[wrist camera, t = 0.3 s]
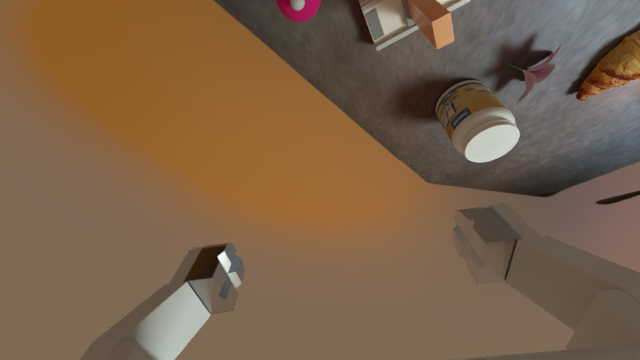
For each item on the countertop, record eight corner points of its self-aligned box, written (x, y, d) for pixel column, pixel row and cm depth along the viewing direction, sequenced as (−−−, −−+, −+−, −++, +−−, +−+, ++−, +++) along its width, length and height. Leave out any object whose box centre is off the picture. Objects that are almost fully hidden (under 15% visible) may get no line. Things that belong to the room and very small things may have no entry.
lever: (422, -23, 42) (456, 0, 32) (429, 13, 46) (461, 44, 36) (398, -9, 43) (424, 18, 33) (407, 25, 47) (432, 58, 37)
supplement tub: (438, 82, 59) (468, 125, 48) (493, 73, 58) (537, 115, 47) (430, 124, 68) (454, 169, 57) (477, 117, 67) (511, 161, 56)
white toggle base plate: (454, -63, 41) (465, -60, 38) (461, -4, 47) (470, 2, 44) (357, -1, 47) (360, 5, 44) (374, 44, 53) (377, 52, 50)
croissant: (666, -9, 50) (696, -11, 44) (711, 18, 49) (746, 20, 43) (556, 85, 64) (567, 93, 58) (590, 107, 63) (605, 117, 57)
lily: (493, 97, 64) (531, 115, 58) (483, 79, 55) (527, 98, 50) (533, 51, 59) (578, 66, 53) (528, 24, 51) (582, 38, 45)
